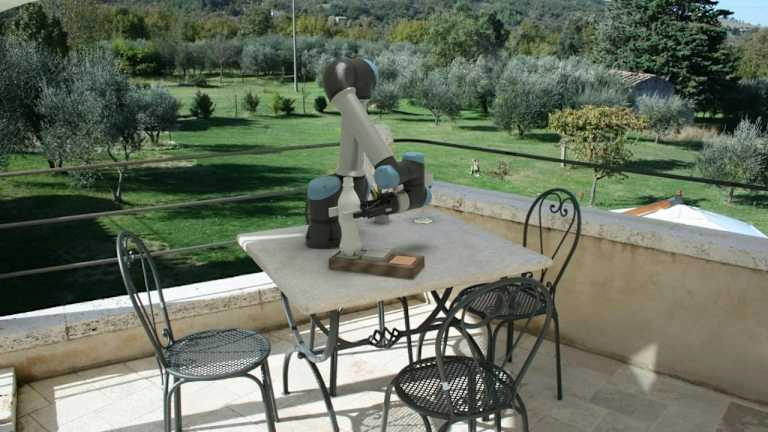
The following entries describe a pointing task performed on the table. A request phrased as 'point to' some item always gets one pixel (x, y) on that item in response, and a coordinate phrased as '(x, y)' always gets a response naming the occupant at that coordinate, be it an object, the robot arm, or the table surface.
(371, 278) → the table surface
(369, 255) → the key middle
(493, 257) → the table surface
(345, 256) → the key sage
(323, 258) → the table surface
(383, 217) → the house plant
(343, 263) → the keypad
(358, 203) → the water bottle
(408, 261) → the orange square block
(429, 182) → the wineglass
